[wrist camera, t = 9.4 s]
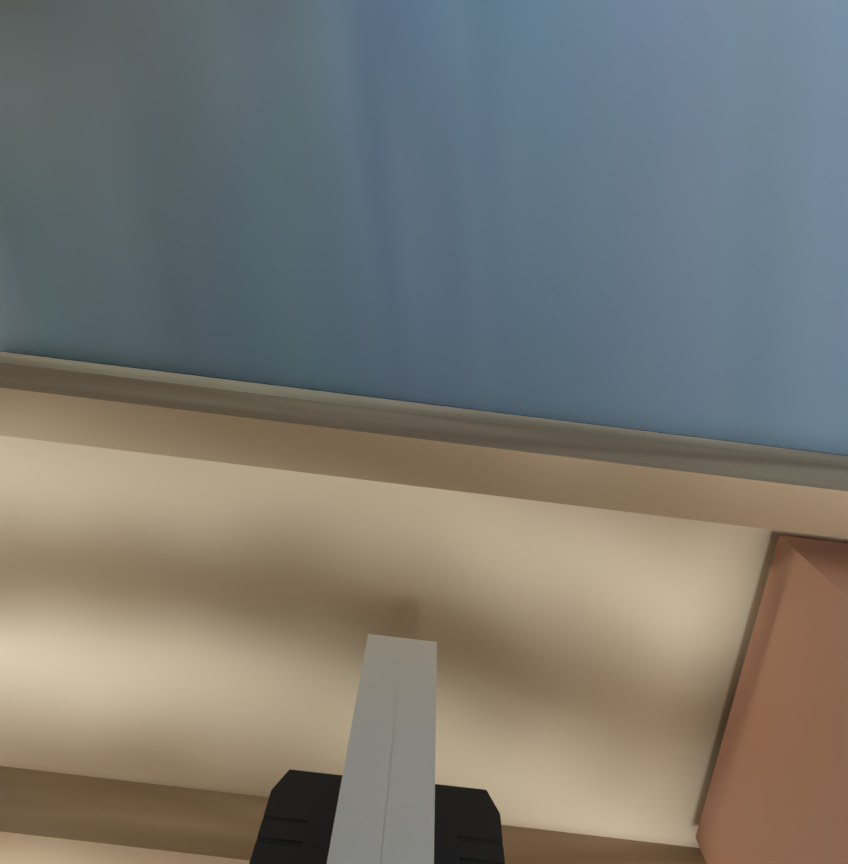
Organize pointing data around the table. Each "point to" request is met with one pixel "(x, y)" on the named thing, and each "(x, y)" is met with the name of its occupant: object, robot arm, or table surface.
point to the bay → (366, 607)
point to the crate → (788, 721)
